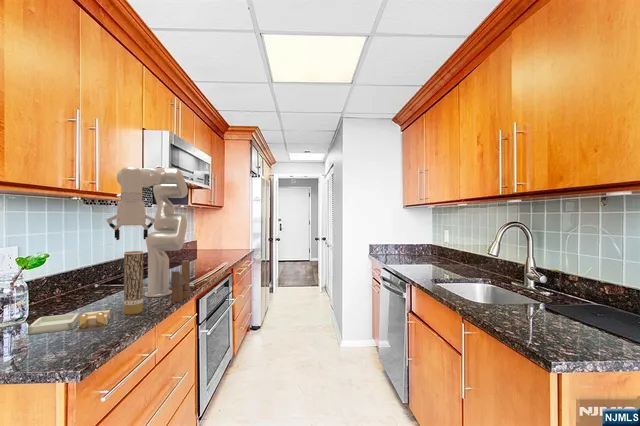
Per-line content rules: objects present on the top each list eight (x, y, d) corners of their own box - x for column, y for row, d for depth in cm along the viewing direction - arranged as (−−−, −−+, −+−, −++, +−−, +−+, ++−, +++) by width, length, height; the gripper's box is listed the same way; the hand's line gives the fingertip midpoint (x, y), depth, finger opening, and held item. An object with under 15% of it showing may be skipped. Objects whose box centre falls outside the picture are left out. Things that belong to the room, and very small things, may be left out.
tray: (39, 324, 120) (39, 317, 120) (79, 319, 126) (79, 313, 126) (27, 334, 110) (27, 327, 110) (71, 329, 115) (71, 322, 115)
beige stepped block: (85, 321, 124) (85, 312, 124) (110, 319, 128) (110, 310, 128) (79, 329, 116) (79, 319, 116) (106, 326, 120) (106, 316, 120)
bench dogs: (78, 328, 116) (78, 314, 116) (105, 325, 119) (105, 311, 119) (75, 332, 112) (75, 318, 112) (103, 329, 115) (103, 314, 115)
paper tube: (125, 311, 136) (125, 251, 136) (143, 309, 139) (144, 250, 139) (122, 316, 130) (122, 253, 130) (141, 314, 132) (141, 252, 133)
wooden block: (171, 302, 151) (171, 263, 151) (184, 296, 162) (184, 259, 162) (178, 302, 151) (179, 263, 151) (191, 296, 161) (191, 260, 161)
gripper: (105, 196, 127) (104, 240, 127) (154, 198, 134) (154, 239, 134) (108, 197, 134) (108, 239, 134) (155, 198, 141) (155, 238, 141)
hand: (131, 239), depth 134 cm, fingers open, 9 cm apart
